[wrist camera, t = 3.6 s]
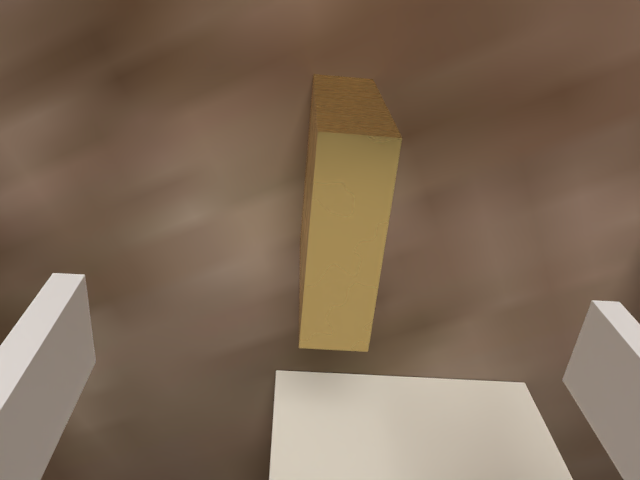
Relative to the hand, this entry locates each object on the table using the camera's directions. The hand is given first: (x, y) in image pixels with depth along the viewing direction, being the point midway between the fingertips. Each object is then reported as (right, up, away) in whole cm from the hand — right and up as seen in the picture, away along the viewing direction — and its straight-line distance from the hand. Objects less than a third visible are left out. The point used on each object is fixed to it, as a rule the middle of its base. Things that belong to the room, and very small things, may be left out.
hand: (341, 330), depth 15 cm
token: (0, +6, +11) cm, 12 cm away
